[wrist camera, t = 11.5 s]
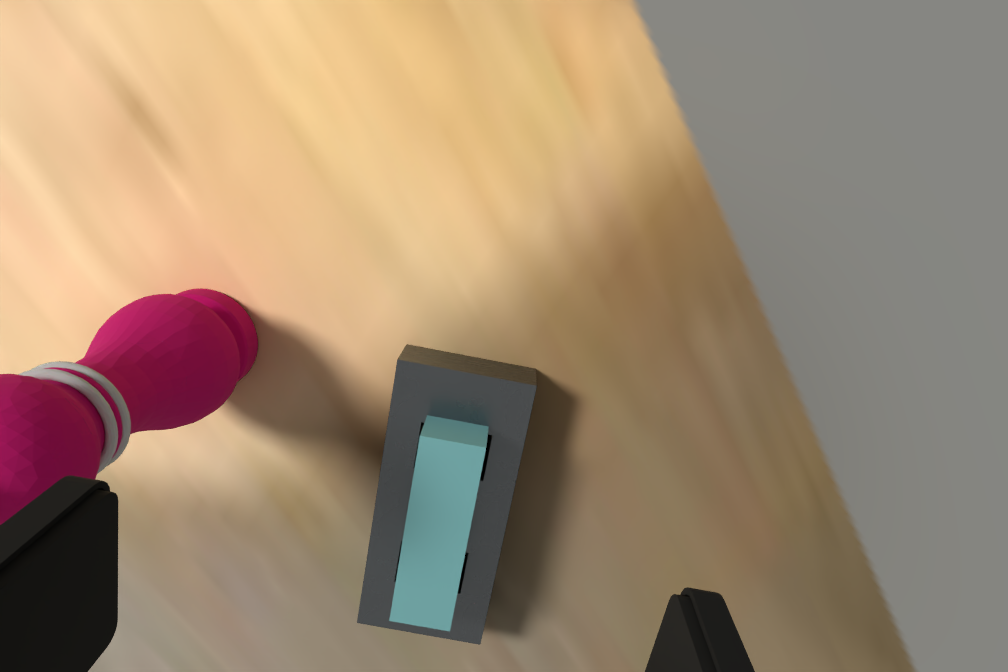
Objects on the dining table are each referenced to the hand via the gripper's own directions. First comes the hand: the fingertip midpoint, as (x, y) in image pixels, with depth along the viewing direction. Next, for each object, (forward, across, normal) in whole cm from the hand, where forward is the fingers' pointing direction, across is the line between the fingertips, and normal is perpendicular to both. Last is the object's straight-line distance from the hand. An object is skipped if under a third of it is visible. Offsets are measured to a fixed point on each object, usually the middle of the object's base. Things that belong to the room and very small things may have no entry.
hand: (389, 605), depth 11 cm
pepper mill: (+28, +16, +8) cm, 33 cm away
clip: (+27, 0, +15) cm, 31 cm away
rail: (+28, 0, +15) cm, 31 cm away
